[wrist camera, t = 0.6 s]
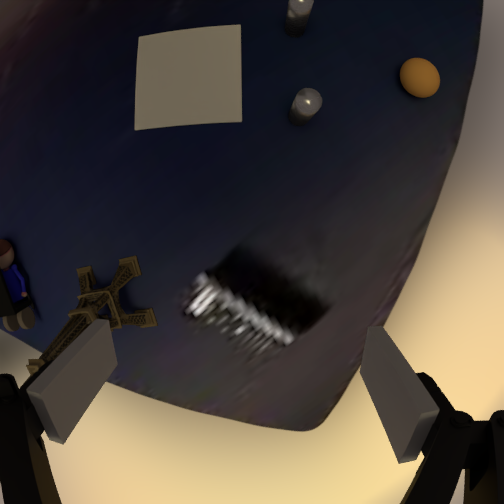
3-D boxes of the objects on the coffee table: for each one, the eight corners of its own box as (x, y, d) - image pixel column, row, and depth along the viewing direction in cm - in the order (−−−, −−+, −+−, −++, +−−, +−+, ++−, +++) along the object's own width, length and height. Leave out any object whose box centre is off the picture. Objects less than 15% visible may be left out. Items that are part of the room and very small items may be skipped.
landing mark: (139, 37, 34) (138, 37, 34) (240, 25, 34) (240, 24, 34) (135, 130, 38) (134, 130, 38) (242, 121, 37) (241, 121, 37)
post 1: (284, 21, 34) (289, -13, 25) (303, 22, 33) (313, -11, 25) (285, 37, 34) (290, 5, 25) (304, 37, 34) (315, 6, 25)
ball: (391, 61, 34) (407, 48, 29) (425, 68, 34) (444, 57, 29) (395, 98, 36) (412, 89, 30) (429, 103, 35) (449, 96, 30)
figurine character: (50, 312, 46) (16, 230, 41) (27, 336, 39) (-13, 246, 34) (26, 316, 47) (-6, 240, 42) (4, 338, 40) (-34, 256, 35)
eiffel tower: (158, 324, 44) (81, 448, 20) (99, 331, 45) (9, 433, 21) (136, 255, 42) (21, 341, 18) (77, 268, 43) (-41, 344, 18)
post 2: (287, 106, 37) (295, 87, 28) (308, 106, 36) (321, 88, 28) (288, 126, 37) (296, 112, 28) (309, 126, 37) (322, 113, 28)
